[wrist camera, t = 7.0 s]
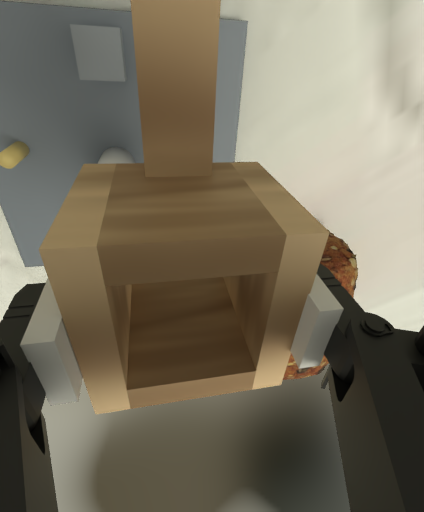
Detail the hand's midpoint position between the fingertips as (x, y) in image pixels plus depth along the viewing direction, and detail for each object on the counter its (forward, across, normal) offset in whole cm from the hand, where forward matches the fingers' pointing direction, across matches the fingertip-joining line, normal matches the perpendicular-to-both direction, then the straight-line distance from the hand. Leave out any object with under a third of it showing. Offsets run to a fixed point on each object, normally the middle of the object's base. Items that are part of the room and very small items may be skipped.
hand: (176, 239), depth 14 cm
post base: (+16, -4, -1) cm, 17 cm away
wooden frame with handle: (0, 0, 0) cm, 0 cm away
